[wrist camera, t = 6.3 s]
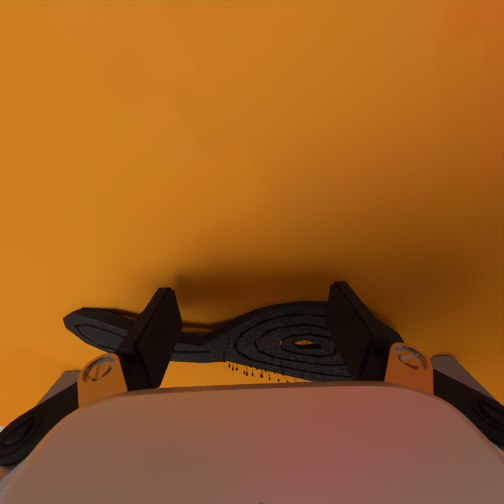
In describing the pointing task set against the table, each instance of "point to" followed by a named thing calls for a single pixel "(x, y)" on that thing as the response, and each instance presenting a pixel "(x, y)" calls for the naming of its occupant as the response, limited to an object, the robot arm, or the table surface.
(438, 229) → the table surface
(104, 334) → the hairbrush
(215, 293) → the table surface
